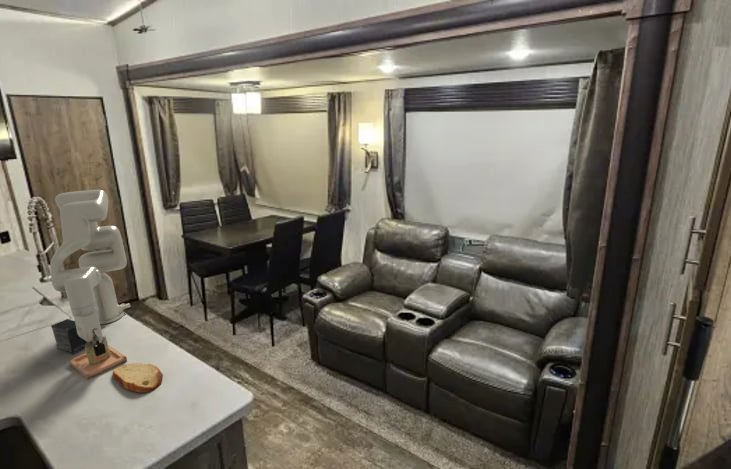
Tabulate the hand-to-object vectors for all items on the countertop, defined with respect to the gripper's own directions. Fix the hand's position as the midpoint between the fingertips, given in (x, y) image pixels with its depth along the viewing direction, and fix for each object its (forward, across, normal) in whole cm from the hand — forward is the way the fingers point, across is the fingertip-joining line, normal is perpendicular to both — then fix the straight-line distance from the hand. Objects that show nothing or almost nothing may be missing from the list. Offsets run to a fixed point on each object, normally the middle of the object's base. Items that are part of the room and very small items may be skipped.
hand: (95, 350), depth 145 cm
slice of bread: (+6, +22, +3) cm, 23 cm away
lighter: (+5, 0, +1) cm, 5 cm away
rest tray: (+5, 0, 0) cm, 5 cm away
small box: (+6, -20, -1) cm, 21 cm away
